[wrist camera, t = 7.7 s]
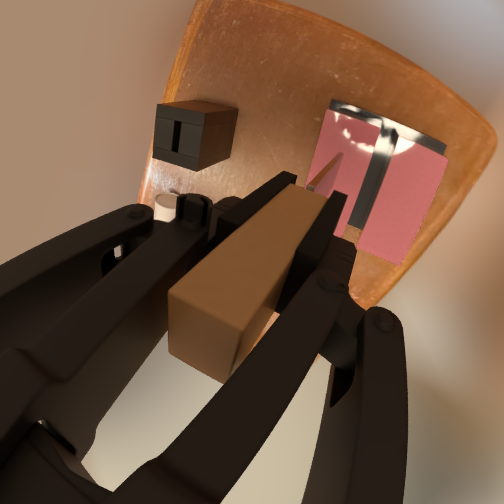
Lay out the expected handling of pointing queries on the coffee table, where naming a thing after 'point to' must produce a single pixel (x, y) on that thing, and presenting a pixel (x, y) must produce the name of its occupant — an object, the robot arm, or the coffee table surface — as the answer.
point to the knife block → (193, 133)
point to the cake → (380, 177)
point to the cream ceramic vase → (165, 206)
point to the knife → (242, 280)
